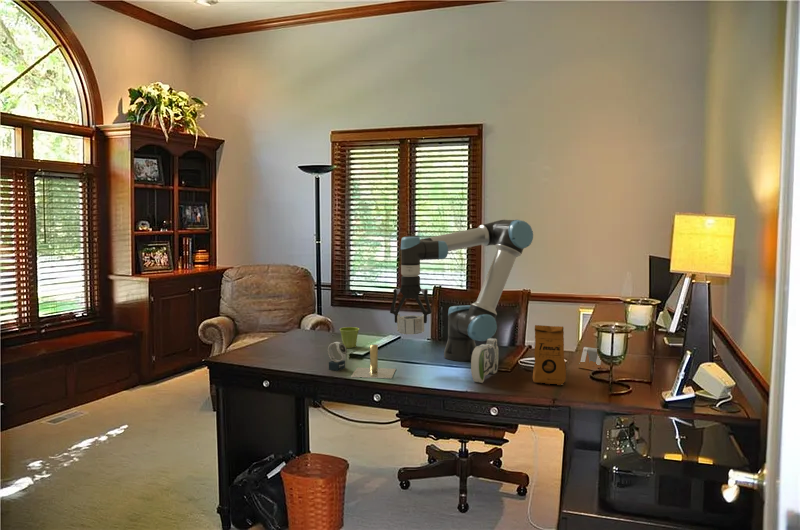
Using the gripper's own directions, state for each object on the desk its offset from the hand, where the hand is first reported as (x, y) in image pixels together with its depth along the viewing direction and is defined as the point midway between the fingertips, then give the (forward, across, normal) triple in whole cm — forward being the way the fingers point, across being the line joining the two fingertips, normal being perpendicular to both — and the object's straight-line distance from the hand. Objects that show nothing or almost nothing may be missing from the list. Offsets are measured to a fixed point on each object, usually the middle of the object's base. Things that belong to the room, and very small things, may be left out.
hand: (410, 330), depth 253 cm
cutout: (+17, +30, -6) cm, 35 cm away
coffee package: (+17, +54, -10) cm, 57 cm away
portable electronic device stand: (+18, +74, +14) cm, 77 cm away
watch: (+16, -30, 0) cm, 35 cm away
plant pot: (+17, -33, +41) cm, 55 cm away
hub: (0, 0, 0) cm, 1 cm away
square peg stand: (+16, -14, -5) cm, 22 cm away
